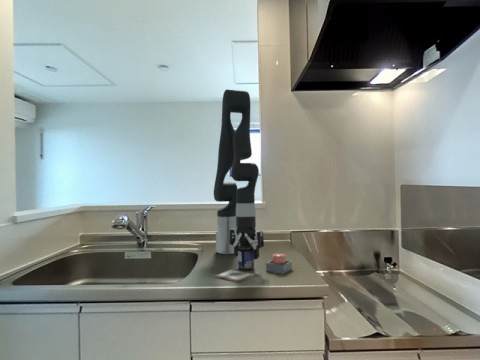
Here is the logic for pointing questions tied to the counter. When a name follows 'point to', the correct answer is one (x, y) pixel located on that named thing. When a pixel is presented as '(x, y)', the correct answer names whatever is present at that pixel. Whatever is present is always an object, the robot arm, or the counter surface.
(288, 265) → the button collar
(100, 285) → the counter surface
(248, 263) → the pill bottle
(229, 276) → the picture frame
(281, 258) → the button
